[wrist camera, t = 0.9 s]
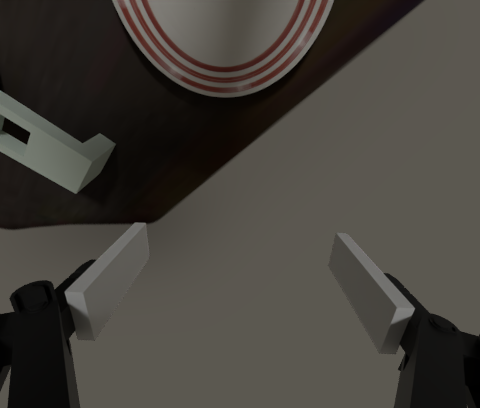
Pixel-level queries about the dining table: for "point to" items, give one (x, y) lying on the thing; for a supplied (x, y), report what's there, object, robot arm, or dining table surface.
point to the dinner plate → (224, 39)
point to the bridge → (52, 148)
